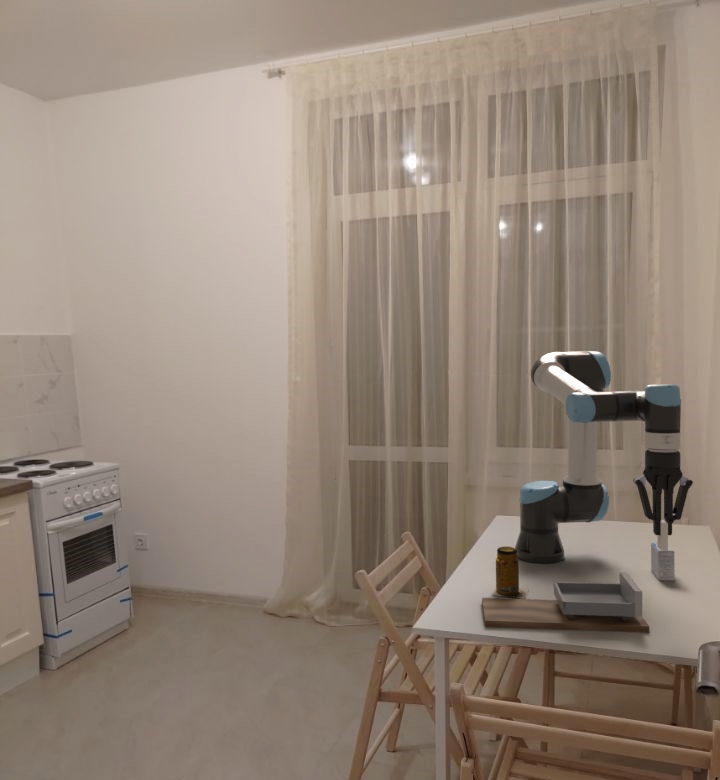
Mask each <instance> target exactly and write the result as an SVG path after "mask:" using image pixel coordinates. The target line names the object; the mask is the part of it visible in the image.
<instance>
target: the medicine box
mask: <svg viewBox="0 0 720 780" xmlns="http://www.w3.org/2000/svg"><path fill="white" fill-rule="evenodd" d="M650 552H651V553H650V557H651V558H650V563H651V564H650V565H651V566H650V570H651V572H652V573H653V575H654V576H655V577H656V579H657V580H658V581H662V582H663V581H664V582H666V581H667V582H669V581H670V582H675V581H676V578H675V576H676V574H675V573H676V569H675V551H674V549H673V548H672V547H671V546H670V545H669V544H668V550H661V549H660V548H658V542H651V543H650Z"/></svg>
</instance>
